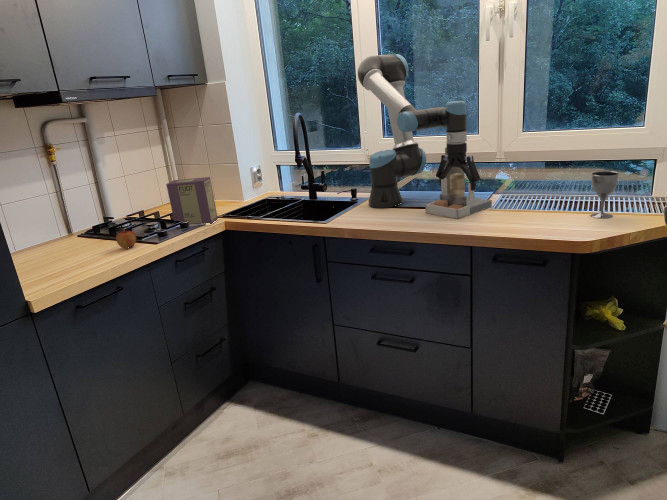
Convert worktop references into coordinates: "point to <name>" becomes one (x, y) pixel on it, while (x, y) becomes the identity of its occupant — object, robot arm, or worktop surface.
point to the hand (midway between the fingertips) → (457, 196)
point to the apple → (126, 239)
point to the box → (192, 200)
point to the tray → (447, 211)
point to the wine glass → (604, 189)
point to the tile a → (441, 203)
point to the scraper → (456, 190)
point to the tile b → (455, 206)
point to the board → (478, 204)
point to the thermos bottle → (452, 171)
